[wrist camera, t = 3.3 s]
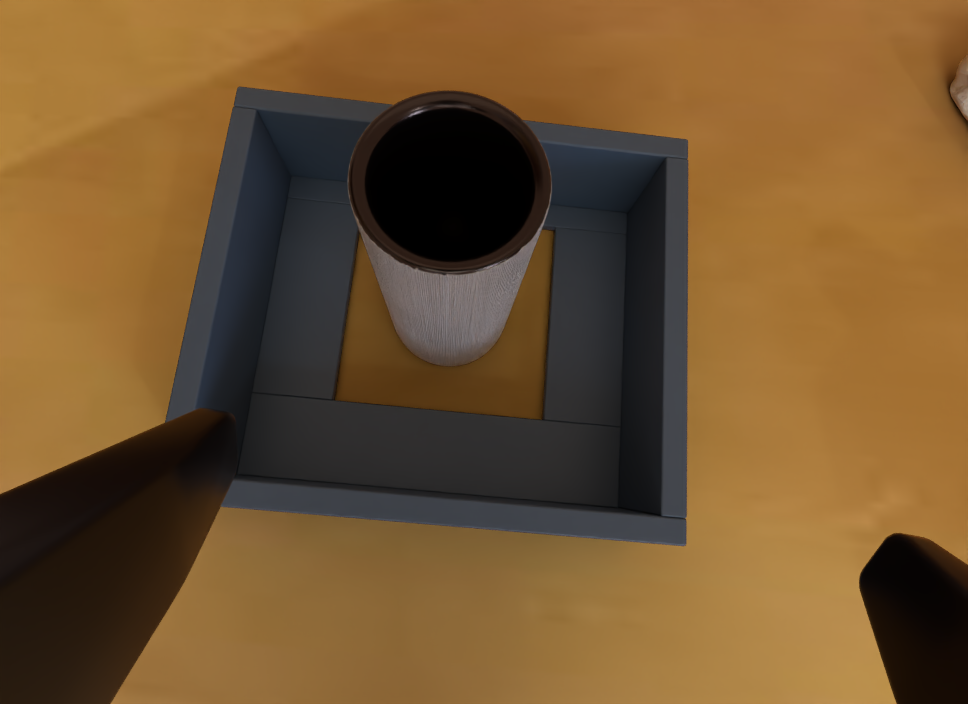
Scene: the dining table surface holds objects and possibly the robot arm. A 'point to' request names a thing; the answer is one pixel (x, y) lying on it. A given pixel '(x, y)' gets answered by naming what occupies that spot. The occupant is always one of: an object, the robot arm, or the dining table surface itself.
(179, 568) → the robot arm
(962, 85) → the pastry
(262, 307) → the basket
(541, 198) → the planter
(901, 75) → the dining table surface
